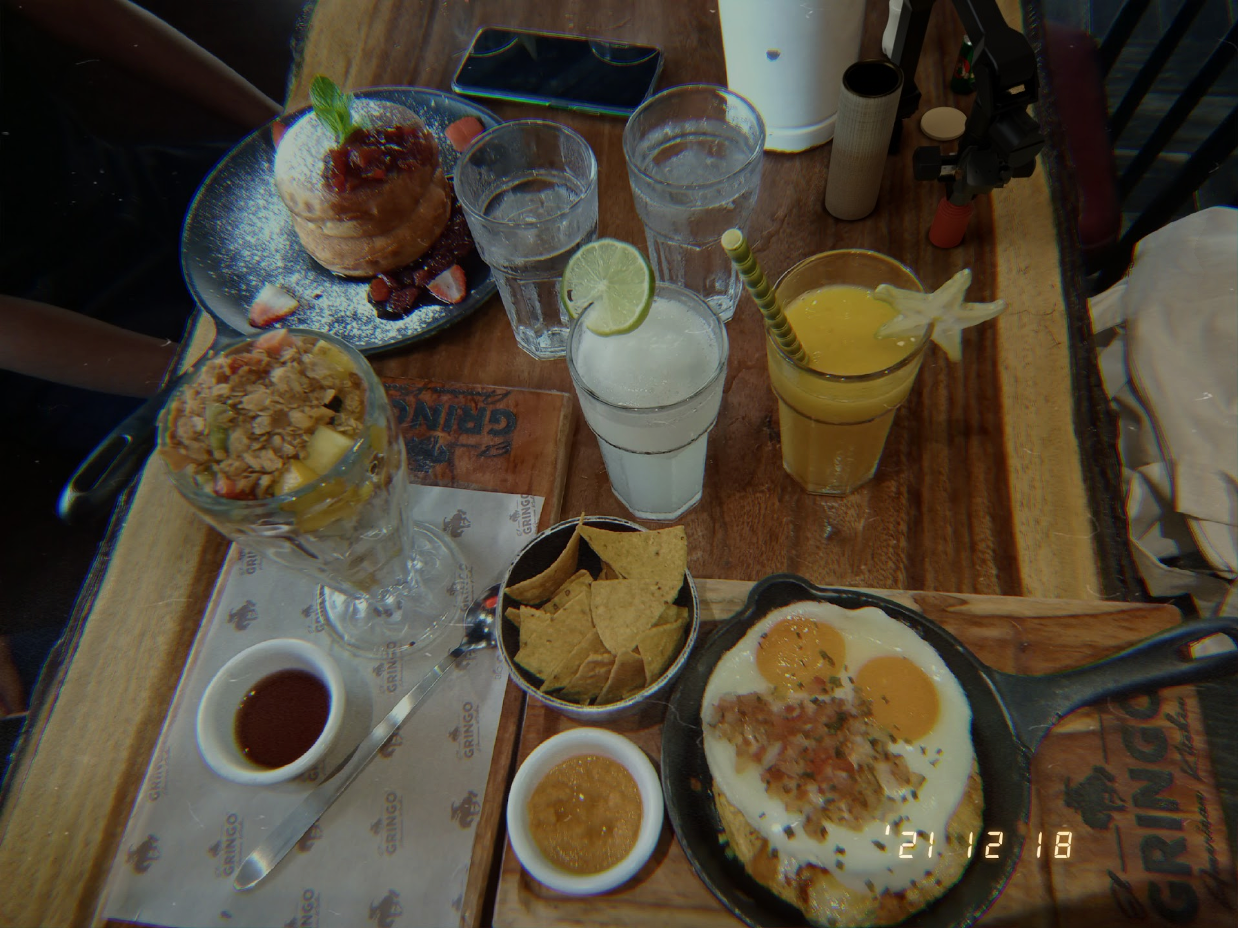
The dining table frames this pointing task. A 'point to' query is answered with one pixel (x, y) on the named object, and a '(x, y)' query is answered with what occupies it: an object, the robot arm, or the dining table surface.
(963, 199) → the cap
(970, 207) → the sauce bottle
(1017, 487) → the dining table surface
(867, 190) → the vase
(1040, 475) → the dining table surface
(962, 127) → the coaster
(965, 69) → the soda can
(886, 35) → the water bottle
